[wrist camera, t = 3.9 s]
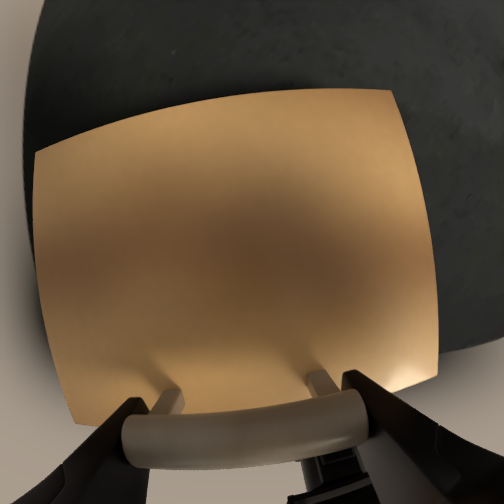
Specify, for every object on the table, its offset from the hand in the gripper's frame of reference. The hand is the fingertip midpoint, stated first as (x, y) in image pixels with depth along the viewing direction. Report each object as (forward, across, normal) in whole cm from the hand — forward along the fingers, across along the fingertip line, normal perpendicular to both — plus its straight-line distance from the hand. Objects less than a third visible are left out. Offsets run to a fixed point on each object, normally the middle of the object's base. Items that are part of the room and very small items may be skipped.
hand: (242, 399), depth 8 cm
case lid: (+4, 0, -3) cm, 5 cm away
